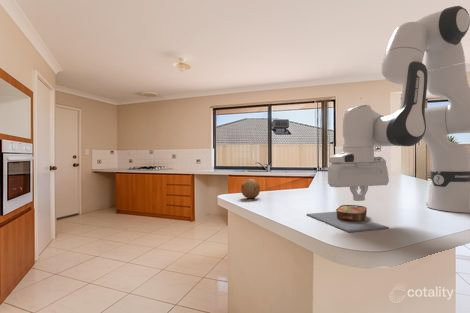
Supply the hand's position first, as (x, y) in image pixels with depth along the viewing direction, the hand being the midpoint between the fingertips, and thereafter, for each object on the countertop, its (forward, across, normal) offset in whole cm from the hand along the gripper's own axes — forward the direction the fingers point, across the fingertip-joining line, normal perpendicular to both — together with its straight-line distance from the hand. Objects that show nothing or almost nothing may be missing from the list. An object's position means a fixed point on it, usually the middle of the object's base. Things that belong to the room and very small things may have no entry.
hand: (359, 200), depth 79 cm
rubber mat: (+6, +5, -1) cm, 8 cm away
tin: (+5, -3, -1) cm, 6 cm away
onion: (+7, +19, -54) cm, 58 cm away
